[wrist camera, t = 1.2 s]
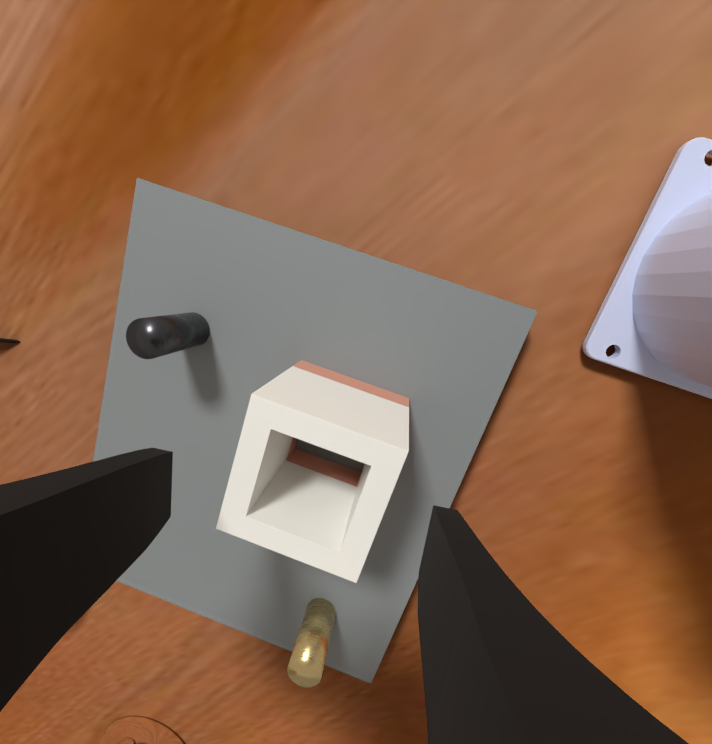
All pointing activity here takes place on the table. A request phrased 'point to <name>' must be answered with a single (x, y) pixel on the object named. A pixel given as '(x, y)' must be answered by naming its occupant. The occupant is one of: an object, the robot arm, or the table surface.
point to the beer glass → (138, 732)
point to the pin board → (264, 363)
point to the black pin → (166, 334)
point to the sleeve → (316, 467)
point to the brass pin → (312, 643)
